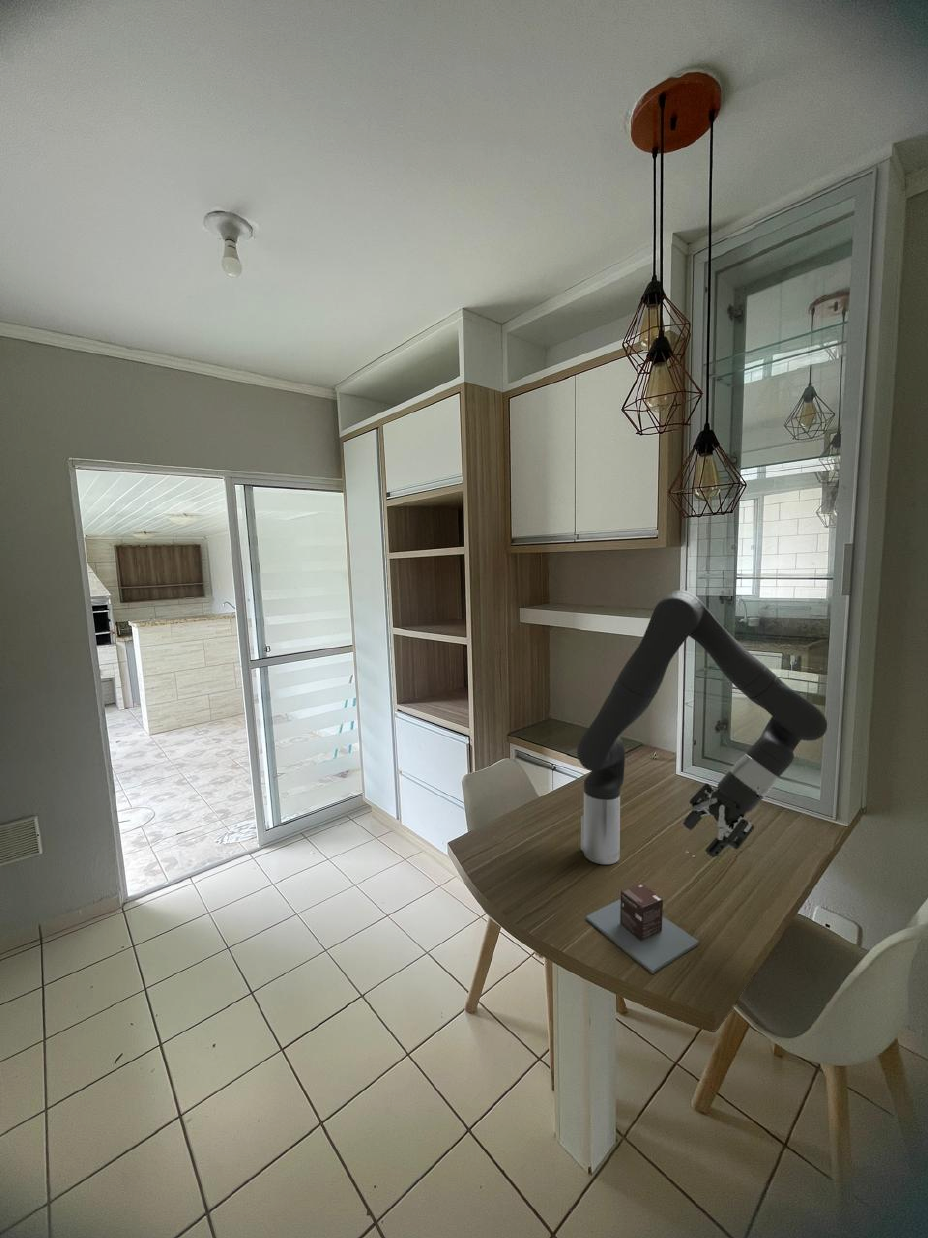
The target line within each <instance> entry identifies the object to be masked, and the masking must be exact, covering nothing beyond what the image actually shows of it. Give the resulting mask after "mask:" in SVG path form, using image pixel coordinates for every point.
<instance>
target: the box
mask: <svg viewBox="0 0 928 1238" xmlns="http://www.w3.org/2000/svg"><path fill="white" fill-rule="evenodd" d="M620 899H621V906H620V923H621V924H622V925H623V926H624V927H625V928H626V929H627V930H629V931H630V932H631V933H632V934H633V935H634V936H635V937H637V938H638V939H639V940H640V941H643V940H645V939H647V938H649V937H651V936H654V935H656V934H659V933H661V932H662V916H663V913H664V911H663V910H664V905H663V903H664V899H663V898H662V897H660V896H659V895H658V894H657V893H656V892H654V891H653V890H652V889H651V888H649V887H647V886H646V885H645V884H643V882H639V883H636V884H634V885H632V886H629V887H627V888H624V889H621V890H620Z"/></svg>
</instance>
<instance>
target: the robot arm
mask: <svg viewBox="0 0 928 1238" xmlns="http://www.w3.org/2000/svg"><path fill="white" fill-rule="evenodd" d="M650 616H651V617H650V619H649V622H648V624H647V627H646V629H645V631H644V634H643V637H642V639H641V641H640V643H639V644H638V647H636V649H635V650H634V651H633V653H632V655H631V656H630V657H629V659H628V660H627V661H626V663H625V665H624V666H623V668H622V669H621V671H620V672H619V674H618V676H617V678H616V680H615V681H614V683H613V686H612V687H611V690H610V692H609V693H608V695H607V697H606V699H605V701H604V702H603V704H602V706H601V708H600V709H599V712H598V714H597V715H596V717H595V718H594V720H593V722H592V723H591V724H590V725H589V727H588V728H587V730H585V732H584V733H583V734H582V736H581V738H580V740H579V741H578V744H577V751H576V753H577V758H578V761H579V763H580V765H581V766H582V767H583V768H584V769H586V770H588V771H591V772H590V773H589V774H588V775H587V776H586V777H585V779H584V781H583V814H582V815H581V816H580V850H581V851H582V852H583V855H584V857H585V858H586V859H588V861H591V862H592V863H595V864H600V865H612V864H615V863H617V862H618V861H620V843H621V842H620V841H621V840H620V839H621V838H620V837H621V836H620V835H621V833H620V832H621V831H620V830H621V823H620V822H621V788H622V787H623V784H624V780H625V779H624V778H625V766H626V765H625V763H626V762H625V761H626V760H625V759H626V751H625V750H626V749H625V745H624V742H623V739H622V737H621V736H620V735H621V734H622V733H623V732H624V731H625V730H626V729H628V728H629V727H630V726H631V725H632V724H633V723H635V722H636V720H638V719H639V717H641V716H642V715H643V714H644V712H645V711H647V709H648V708H649V707H650V705H651V703H652V701H653V700H654V698H655V697H656V694H657V693H658V691H659V690H660V687H661V686H662V683H663V681H664V678H665V675H666V672H667V670H668V666H669V664H670V663H671V660H672V659H673V658H674V656H675V654H676V653H677V652H678V650H679V649H680V648H681V646H682V645H683V643H684V642H685V641H686V640H687V639H688V637H690V638H691V639H692V640H694V641H695V642H696V643H698V644H699V645H700V646H701V647H702V648H703V649H704V650H705V652H707V653H708V654H709V656H710V658H711V659H712V660H713V662H714V663H715V664H716V665H717V666H718V668H719V670H720V671H721V672H722V673H723V674H724V676H725V677H726V678H727V679H728V680H729V681H730V683H731V684H733V685H734V686H735V687H736V688H737V689H738V690H739V691H740V692H741V693H743V695H745V696H746V698H748V699H749V700H750V701H751V702H753V703H754V704H756V705H757V706H759V707H760V708H762V709H764V710H765V711H766V712H767V713H768V714H770V715H771V717H770V719H769V720H768V722H767V724H766V726H765V727H764V729H763V731H762V733H761V735H760V737H758V739H757V740H756V741H755V742H754V743H753V744H752V745H751V747H750V748H749V749H748V750H747V752H746V753H745V754H744V755H743V756H742V757H741V758H739V759H738V760H737V761H736V762H735V764H734V765H733V766H732V767H731V768H730V769H729V770H728V772H726V774H725V775H724V776H723V778H722V779H721V780H720V781H719V782H718V783H717V788H718V789H716V788H715V787H714V786H712V784H711V785H710V784H709V783H705V784H704V785H703V786H702V787H701V788H700V789H699V790H698V791H697V792H696V794H694V796H692V797H691V799H690V800H689V804H690V805H691V806H692V810H691V812H690V813H689V814H688V815H687V817H685V819H684V822H683V826H684V827H685V828H687V829H688V830H690V831H692V830H694V828H695V827H696V825H697V824H699V822H700V821H701V820H702V819H703V817H705V816H709V815H711V816H713V818H714V819H715V820H716V821H717V827H718V834H717V837H715V838H714V839H713V840H712V842H710V844H709V845H708V846H707V847H705V850H704V851H705V853H706V854H707V855H708V856H711V857H712V858H716V857H718V856H720V854H721V853H722V852H723V851H724V849H725V848H727V847H731V848H733V849H735V850H739V848H741V846H742V845H743V844H744V842H745V841H746V840H747V839H748V837H749V836H750V835H751V833H752V832H753V831H754V829H755V825H754V824H752V823H751V822H750V821H749V820H746V819H745V815H746V814H747V813H751V812H753V810H755V809H756V807H757V806H758V805H759V804H760V803H761V801H762V800H763V799H764V798H765V797H766V796H767V795H768V793H769V792H770V791H771V790H772V789H773V787H774V786H775V784H776V782H778V779H779V778H780V776H782V774H783V773H785V771H786V770H787V769H788V768H789V766H791V764H792V763H793V761H794V759H795V755H794V751H795V749H796V748H797V746H798V745H799V744H800V742H801V741H809V742H810V741H816V740H819V739H821V738H822V737H823V736H824V735H825V734H826V732H827V729H828V721H827V718H826V716H825V715H824V713H823V712H822V711H821V710H820V709H819V708H818V707H817V706H815V705H814V704H813V703H812V702H811V701H810V700H808V699H807V698H806V697H804V696H802V695H801V694H800V693H798V692H797V691H795V690H794V689H792V688H791V687H789V686H788V685H787V684H786V683H785V682H784V681H782V679H781V678H780V677H778V675H776V674H775V672H773V671H772V670H771V669H769V668H768V667H767V666H766V665H765V664H763V663H762V662H761V661H760V660H759V659H758V658H756V657H755V656H754V655H753V654H752V653H751V652H750V651H748V650H747V649H746V648H745V647H744V646H743V644H741V643H740V642H739V641H737V639H735V638H734V637H733V636H732V634H730V633H729V632H728V630H726V628H725V627H724V626H723V624H721V623H720V622H719V621H718V619H717V618H715V616H714V615H713V614H712V613H711V611H710V610H709V609H708V608H707V607H706V606H705V604H704V603H703V602H702V601H701V600H700V598H699V597H698V596H697V595H695V594H694V593H692V592H690V591H688V590H682V589H680V590H674V591H671V592H669V593H667V594H666V595H665V596H664V597H663V598H662V599H660V600H659V601H658V603H657V604H656V605H655V606H654V609H653V612H652V614H651V615H650Z"/></svg>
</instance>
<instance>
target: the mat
mask: <svg viewBox="0 0 928 1238" xmlns="http://www.w3.org/2000/svg"><path fill="white" fill-rule="evenodd" d="M620 906H621V898H620V899H618V900H615V901H613V902H611V903H609V904H607V905H606V906H604V907H602V908H599V909H598V910H596V911H593V912H592V913H590V914H588V915H586V916H585V920H586V921H588V922H589V923H590V924H591V925H592V926H594V927H595V928H596V929H597V930H599V931H600V932H601V933H602V934H603V935H605V936H606V937H607V938H608V939H609V940H611V941H612V942H613V943H614V944H615V945H616V946H618V947H619V948H620V949H622V951H624V952H625V953H626V954H628V956H630V957H631V958H632V959H634V960H635V961H636V962H637V963H638V964H640V965H641V966H642V967H643V968H644V969H645V970H647V971H648V972H649V973H651V974H655V973H656V972H658V971H660V970H661V969H662V968H664V967H666V966H667V965H669V964H670V963H672V962H674V961H675V960H676V959H678V958H680V957H681V956H683V955H684V954H685V953H687V952H689V951H690V950H692V949H693V948H695V947H697V946H699V944H700V941H699V940H698V939H696V938H695V937H693V936H692V935H690V934H689V933H688V932H686V931H685V930H683V928H680V927H679V926H678V925H676V924H674V923H673V922H672V921H670V920H669V919H667V918H666V917H664V916H663V915H662V932H661V933H659V934H656V935H654V936H651V937H649V938H647V939H645V940H643V941H640V940H639V939H638V938H637V937H635V936H634V935H633V934H632V933H631V932H630V931H629V930H627V929H626V928H625V927H624V926H623V925H622V924H621V923H620Z"/></svg>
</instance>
